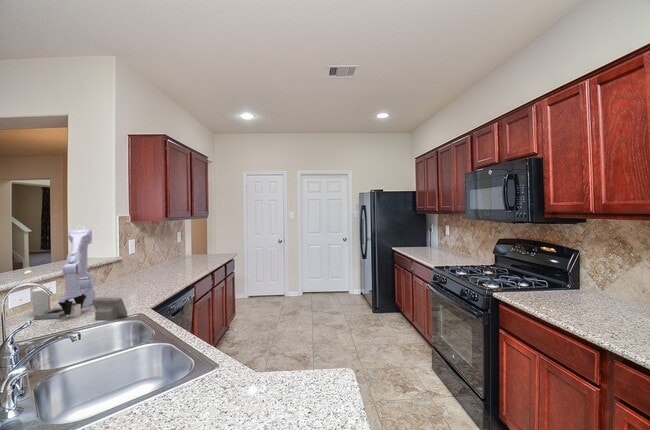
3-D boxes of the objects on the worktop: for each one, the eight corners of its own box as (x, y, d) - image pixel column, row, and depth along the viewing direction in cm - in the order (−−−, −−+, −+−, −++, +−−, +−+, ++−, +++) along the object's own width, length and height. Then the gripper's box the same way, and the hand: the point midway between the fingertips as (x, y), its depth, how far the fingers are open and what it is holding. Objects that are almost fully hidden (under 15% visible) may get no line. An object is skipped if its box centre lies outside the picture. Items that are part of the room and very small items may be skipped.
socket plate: (54, 311, 161) (54, 307, 161) (77, 310, 162) (77, 306, 162) (34, 319, 149) (33, 314, 149) (59, 318, 150) (58, 313, 150)
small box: (49, 313, 158) (48, 289, 158) (32, 316, 154) (31, 291, 154) (50, 309, 165) (49, 286, 164) (34, 312, 161) (33, 288, 160)
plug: (72, 314, 156) (71, 302, 156) (81, 314, 156) (80, 301, 156) (66, 317, 152) (65, 304, 152) (75, 316, 152) (74, 304, 152)
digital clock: (129, 316, 151) (128, 295, 151) (111, 322, 142) (111, 300, 142) (107, 313, 156) (106, 293, 156) (88, 319, 147) (88, 298, 147)
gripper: (69, 289, 147) (70, 316, 147) (90, 282, 161) (91, 307, 161) (54, 290, 146) (55, 317, 146) (77, 283, 161) (78, 307, 161)
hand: (73, 312), depth 154 cm, fingers open, 7 cm apart
